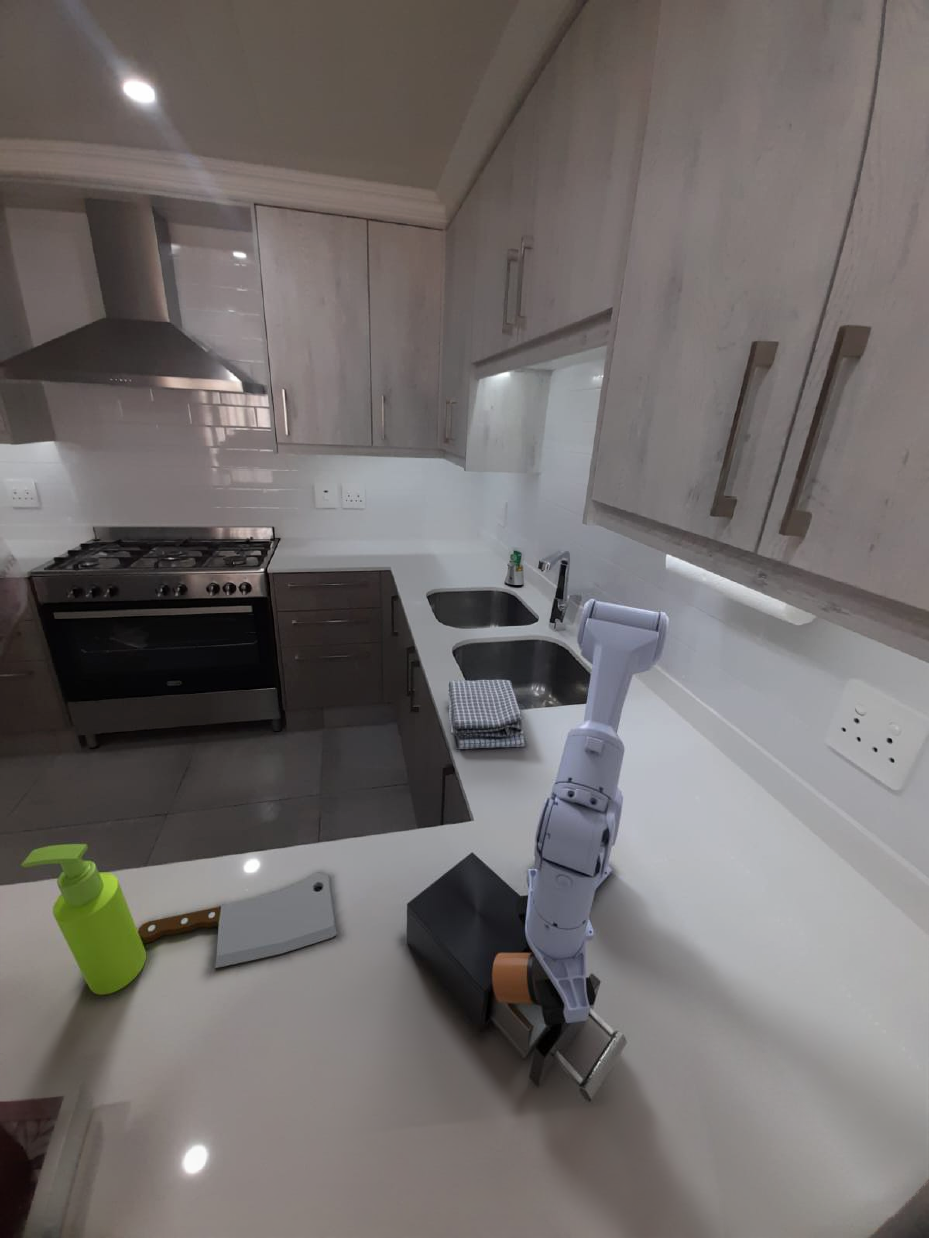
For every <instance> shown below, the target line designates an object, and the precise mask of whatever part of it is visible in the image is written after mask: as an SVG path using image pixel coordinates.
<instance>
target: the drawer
mask: <svg viewBox="0 0 929 1238" xmlns="http://www.w3.org/2000/svg"><path fill="white" fill-rule="evenodd" d="M525 953H527V951H526V952H525ZM588 977H589V978H590V979H591V982H592V985H593V988H594V991H595V994H596V998H595V1002H594V1004H593V1005H591V1006H590V1011H589V1014H588V1018H590V1020H592V1021H593V1022H594V1023H595V1024H596V1025H597V1027H599V1028H600V1029H601V1031H603V1032H604V1033H605V1034H606V1035H607V1036H608V1037H609V1038H610V1039H609V1040H608V1042H607V1043H606V1044H605V1046H604V1048H603V1049H602V1051H601V1052H600V1054H599V1055H598V1057H597V1058H596V1060H595V1061H594V1063H593V1065H592V1066H591V1067H590V1070H589V1071H588V1073H586V1076H585V1077H584V1078H583V1077H582V1076H581V1075H580V1074H579V1072H578V1071H577V1070H575V1068H574V1067H573V1066H572V1065H571V1064H570V1063H569V1062H568V1061H567V1060H566V1058H565V1057H564V1056H563V1054H564V1052H565V1051H566V1049H567V1048H568V1046H569V1045H570V1044H571V1042H572V1040H573V1039H574V1038H575V1036H576V1035H577V1033H579V1031H580V1030H581V1028H582V1027H583V1025H584V1023H585V1022H586V1021H580V1022H571V1023H566V1021H565V1022H564V1023H563V1024H555V1025H548V1026H547V1025H545V1022H544V1018H543V1013H542V1007H541V1005H533V1004H513V1003H500V1002H499V1001H498V1000H497V999H496V996H495V993H494V989H493V988H492V989H491V990H490V991H489V995H488V1003H487V1011H486V1015H487V1016H488V1017H489V1018H490V1019H491V1020H490V1021H492V1022H491V1023H493V1024H494V1025H495V1027H496V1028H497V1029H498V1030H499V1032H500V1033H501V1034H502V1035H503V1036H504V1037H505V1038H506V1040H507V1041H508V1042H509V1043H510V1045H512V1047H513V1048H514V1049H515V1050H516V1051H517V1053H518V1054H519V1055H520V1056H521V1058H522V1059H525V1058H526V1057H527V1056H528V1054H529V1053H530V1051H531V1050H532V1049H533V1048H534V1047H535V1048H534V1052H533V1057H532V1062H531V1067H530V1071H529V1075H528V1078H529V1079H530V1080H531V1081H532V1083H533V1084H534V1085H535V1086H536V1087H537V1088H539V1087H540V1086H541V1084H542V1083H543V1081H544V1080H545V1079H546V1077H547V1076H548V1075H549V1073H550V1072H551V1070H552V1069H553V1067H554V1066H555V1064H556V1063H557V1064H558V1065H559V1066H560V1068H561V1069H562V1070H563V1071H564V1072H565V1073H566V1075H567V1076H569V1078H570V1079H571V1080H572V1081H573V1082H574V1083H575V1084H576V1085H577V1087H578V1091H579V1093H580V1095H581V1096H582V1097H583V1099H584V1100H585V1101H586V1102H589V1103H591V1102H592V1100H593V1099H594V1097H595V1096H596V1094H597V1092H598V1091H599V1090H600V1088H601V1086H602V1084H603V1082H604V1081H605V1079H606V1078H607V1076H608V1075H609V1073H610V1071H611V1069H612V1068H613V1067H614V1065H615V1064H616V1062H617V1060H618V1059H619V1057H620V1055H621V1053H622V1052H623V1050H624V1048H625V1047H626V1046H627V1043H628V1042H627V1041H628V1040H627V1039H626V1037H625V1034H623V1032H621V1031H619V1030H615V1029H613V1028H612V1027H611V1026H610V1025H609V1024H608V1023H607V1022H606V1021H605V1020H604V1019H603V1018H602V1017H601V1016H599V1014H598V1013H597V1012H596V1011H595V1010H594V1006H595V1004H596V1000H597V996H598V992H599V989H600V985H601V983H602V982H601V980H600V979H599V978H598V977H597V976H596V975H595V974H594V973H593V972H591V973H590V974H589V976H588ZM547 979H550V978H549V977H548V975H547ZM547 1029H548V1030H547ZM542 1036H543V1037H542ZM540 1038H541V1039H540ZM536 1043H537V1044H536ZM535 1045H536V1046H535Z"/></svg>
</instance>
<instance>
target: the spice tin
mask: <svg viewBox="0 0 929 1238" xmlns="http://www.w3.org/2000/svg"><path fill="white" fill-rule="evenodd" d="M545 979H547V974H546V972H545V970H544V969H543V967H542V966H541V964H540V962H539V961H538V959H537V958H536V956H535V954H534V953H533V952H532V953H498V954H497V955H496V957H495V960H494V964H493V971H492V981H493V989H494V993H495V996H496V999H497V1000H498V1001H499V1002H500V1003H513V1004H533V1005H541V1004H540V1001H539V998H538V994H537V990H536V985H535V981H536V980H545Z"/></svg>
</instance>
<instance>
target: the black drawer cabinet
mask: <svg viewBox="0 0 929 1238" xmlns="http://www.w3.org/2000/svg"><path fill="white" fill-rule="evenodd" d="M520 896H521V895H520V893H518V892H517V891H516V890H515V889H513V887H512V886H510V885H509V884H508V883H507V882H506V881H505V880H503V878H502V877H500V876H499V875H498V874H497V873H496V872H495V871H494V870H493V869H491V867H489V866H488V864H486V863H485V862H484V861H483V860H481V858H479V857H478V856H477V854H475V853H474V852H473V851H472V852H471V853H469V854H468V855H466V857H464V858H463V859H461V860H460V861H459V862H458V863H456V864H455V865H454V866H453V867H452V868H450V869H449V870H448V871H446V872H445V873H443V874H442V875H441V876H440V877H439V878H438V879H436V880H435V881H434V882H432V883H431V884H430V885H429V886H427V887H426V888H425V889H424V890H422V891H421V892H420V893H418V894H417V895H416V896H415V897H414V898H412V899H411V900H410V901H408V902H407V903H406V944H407V945H408V946H409V947H410V948H411V950H412V951H413V952H414V953H415V955H417V957H418V958H419V960H420V961H421V962H422V963H423V964H424V965H425V967H426V968H427V969H428V970H429V972H430V973H431V974H432V975H433V977H434V978H435V979H436V981H438V983H439V984H440V986H442V987H443V989H444V990H445V991H446V993H448V995H449V996H450V998H451V999H452V1000H453V1001H454V1002H455V1004H456V1005H457V1006H458V1007H459V1008H460V1009H461V1011H462V1012H463V1013H464V1014H465V1016H466V1017H467V1019H468V1020H469V1021H470V1022H471V1023H472V1025H473V1026H474V1027H475V1028H476V1030H477V1031H478V1032H480V1033H481V1032H482V1030H483V1029H485V1027H486V1026H487V1025H488V1024H489V1023H490V1021H491V1019H490V1018H489V1017H488V1016H487V1015H486V1011H487V1003H488V995H489V991H490V990H491V989H492V988H493V981H492V971H493V964H494V960H495V957H496V955H497V954H498V953H525V952H526V951H527V949H526V944H525V935H524V927H523V924H522V922H521V920H520V919H519V917H518V912H517V908H516V904H515V903H516V899H517V898H518V897H520Z"/></svg>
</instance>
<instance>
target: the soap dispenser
mask: <svg viewBox="0 0 929 1238" xmlns="http://www.w3.org/2000/svg"><path fill="white" fill-rule="evenodd" d="M88 848H89V847H88V844H87V843H68V844H67V843H65V844H54V845H47V846H43V847H39V848H36V849H32V851H31V852H30V853H29V854H28V855H27V857H26V858H25V859H24V860H23V861H22V863H21V864H20V867H23V868H30V867H36V866H42V865H56V864H57V865H58V864H60V866H61V869H62V872H61V873H60V874H59V876H58V877H57V881H56V884H57V887H58V889H59V892H60V894H59V896H58V897H57V898H56V900H55V902H54V903H53V907H52V914H53V917H54V919H55V921H56V923H57V926H58V928H59V929H60V932H61V934H62V936H63V937H64V939H65V941H66V944H67V945H68V948H69V949H70V951H71V953H72V955H73V958H74V960H75V962H76V964H77V966H78V968H79V970H80V972H81V975H82V976H83V978H84V980H85V982H86V984H87V985H88V988H89V990H90V991H91V992H92V993H94V994H96V995H109V994H112V993H115V992H118V991H119V990H121V989H123V988H124V987H126V986H128V985H129V984H130V983H131V982H132V981H133V980H134V979H136V978H137V976H138V975H139V974H140V972H141V971H142V969H143V967H144V965H145V963H146V961H147V952H146V949H145V946H144V942H143V941H141V938H140V936H139V933H138V931H139V930H138V929H137V926H136V923H135V920H134V918H133V915H132V913H131V910H130V908H129V905H128V903H127V901H126V898H125V895H124V892H123V890H122V888H121V884H120V883H119V879H118V877H117V876H116V875H114V874H113V873H111V872H105V871H104V872H100V871H99V870H98V867H97V865H96V863H95V862H94V861H91V860H83V856H84V854H85V853H86V852H87V850H88Z"/></svg>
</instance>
